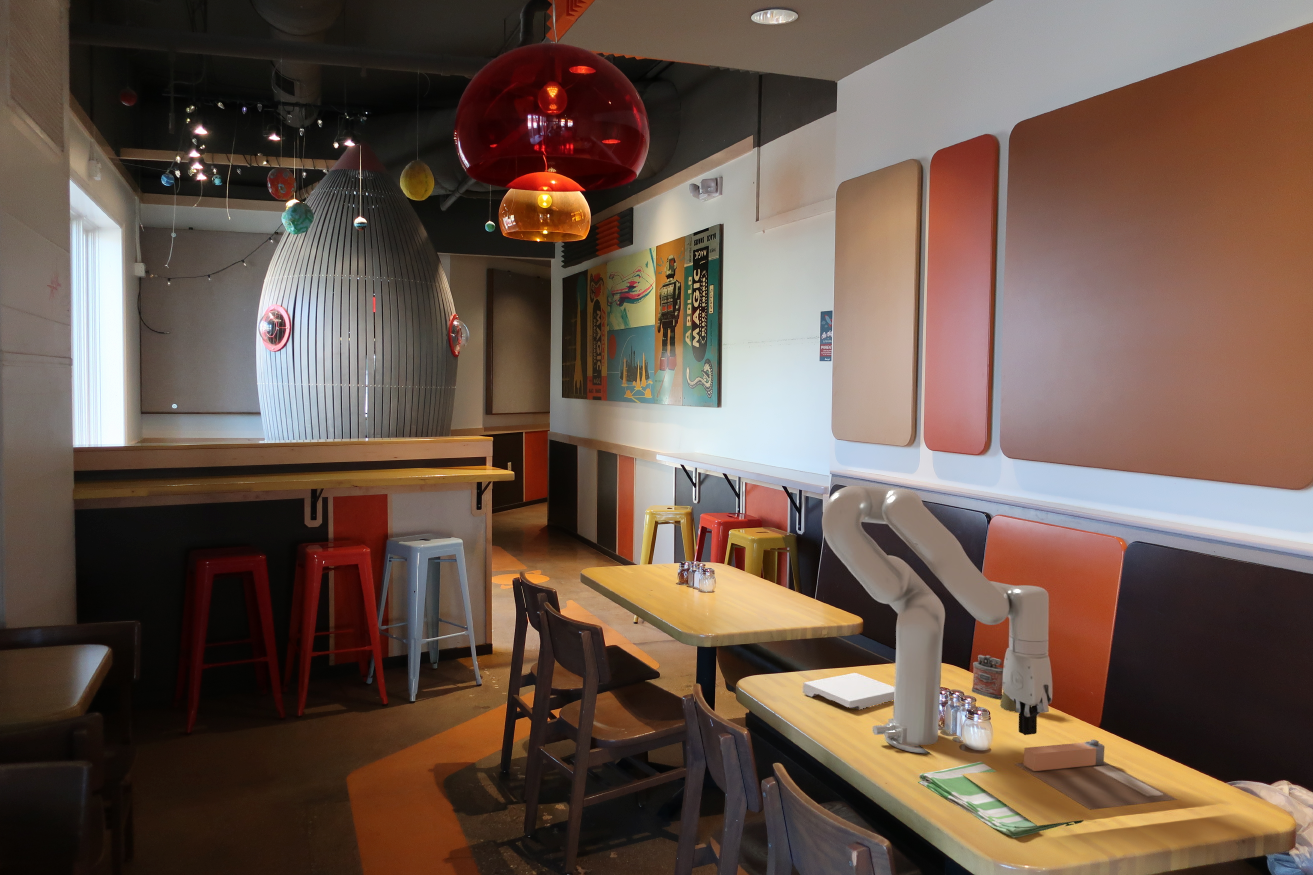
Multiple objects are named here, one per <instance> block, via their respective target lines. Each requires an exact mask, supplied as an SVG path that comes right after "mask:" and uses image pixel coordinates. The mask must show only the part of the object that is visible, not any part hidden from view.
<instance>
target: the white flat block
mask: <svg viewBox="0 0 1313 875" xmlns="http://www.w3.org/2000/svg"><path fill="white" fill-rule="evenodd" d="M894 691H895V686H893V685H890V684H888V683H885V682H882V681H879V680H876V679H874V678H871V677H868V676H865V675H863V674H860V673H857V672H851V673H847V674H843V675H836V676H831V677H825V678H821V679H816V680H815V679H814V680H809V681H805V682H803V685H802V693H803V694H804V695H806V696H808V697H811V698H812V697H816V696H817V695H819V696H822V697H824V698H825V699H827V700H829V701H831V700H833V701H832V702H834V701H835V702H834V703H838V704H840V705H841V706H844V707H846V708H848V707H849V708H848V709H852V708H856V709H855V710H859V711H861V710H860V709H862V710H864V709H866V707H869V708H871V707H870V706H873V705H876V706H878V705H877V704H880V705H882V704H881V703H883V702H888V701H891V702H893V701H892V700H894ZM888 703H889V702H888ZM883 704H884V703H883ZM873 707H874V706H873ZM863 708H864V709H863Z"/></svg>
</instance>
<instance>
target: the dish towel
mask: <svg viewBox="0 0 1313 875" xmlns="http://www.w3.org/2000/svg"><path fill="white" fill-rule="evenodd" d="M996 772H997V771H996V770H995V769H993V768H992V767H990V766H988V765H987V764H985V763H984V762H983V761H977V762H974V763H968V764H964V765H959V766H956V767H950V768H945V769H940V770H937V771H929V772H922V773H920V774H919V779H920V781H918V782H917V783H918V784H919V785H922V786H924V787H926V789H928V790H930V791H932V792H933V793H935V794H937V795H938V796H940V797H941V798H943V799H946V800H947V801H948V802H950V803H952V804H954V805H956V806H957V807H958V808H960V809H961V810H963V811H965V812H967V813H969V814H971V815H972V816H974V817H976V818H977V819H978V820H980V821H981V822H983V823H985V824H986V825H987V826H989V827H991V828H993V829H995V830H998V831H999V832H1001V833H1002V834H1005V835H1008V836H1010V837H1012V838H1013V839H1016V838H1021V837H1024V836H1027V835H1033V834H1036V833H1039V832H1044V831H1046V830H1050V829H1051V830H1052V829H1055V828H1057V827H1062V826H1064V827H1070V826H1073V825H1078V824H1081V823H1083V822H1084V821H1085V820H1084V819H1082V820H1081V819H1080V820H1074V821H1073V820H1072V821H1066V822H1065V821H1064V822H1057V823H1049V824H1040V825H1038V824H1036V823H1035V822H1033V821H1031V820H1030V819H1028V818H1027V817H1026V816H1025V815H1023V814H1021V813H1020V812H1018V811H1017V810H1016V809H1014V808H1013V807H1011V806H1009V804H1006V803H1005V802H1004V801H1003V800H1001V799H999V798H998V797H996V796H995V795H994V794H992V793H990V792H989V791H987V790H985V789H984V788H983V787H982V786H981V785H979V784H977V783H975V782H974V781H972V780H971V779H970V778H968V777H967V776H966V775H967V774H977V773H978V774H979V773H996ZM964 774H966V775H964Z"/></svg>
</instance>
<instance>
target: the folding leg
mask: <svg viewBox="0 0 1313 875" xmlns="http://www.w3.org/2000/svg"><path fill="white" fill-rule="evenodd" d="M1023 749H1024V750H1023V763H1024V765H1025V766H1026V767H1028V768H1030V769H1031V770H1033V771H1041V770H1051V769H1061V768H1071V767H1081V766H1091V765H1103V764H1104V761H1105V744H1102V743H1100V742H1099V740H1096V739H1091V740H1090V741H1088V740H1087V741H1085V742H1074V743H1064V744H1062V743H1061V744H1052V745H1042V746H1030V747H1024V748H1023Z"/></svg>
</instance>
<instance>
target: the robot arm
mask: <svg viewBox="0 0 1313 875" xmlns="http://www.w3.org/2000/svg"><path fill="white" fill-rule="evenodd" d="M821 517H822V518H821V527H822V534H823V535H824V536H823V537H824V538H825V541H826V543H827V545H828V546H829V548H830V549H831V550H832V551H833V553H834V554H835V556H837V558H838V559H839V560H840V561H841V563H842V564H843V565H844V566H845V567H846V568H847V569H848V571H849V572H850V573H851V575H853V577H854V578H856V580H857V581H858V582H859V583H860V585H862V586H863V588H864V589H865V591H866V592H867V593H868V595H870V596H871V598H872V599H874V600H875V601H877V602H878V603H881V604H885V605H889V606H890V607H891V608H892V609H893V610H894V611H895V612H896V614H897V618H896V619H897V620H896V626H895V631H896V632H895V636H896V637H895V638H896V641H895V642H896V644H895V648H896V649H895V676H894V687H895V691H894V701H893V711H892V712H893V714H892V715H893V717H892V718H888V723H887V722H886V723H885V724H884V725H882V724H878V725H873V726H872V733H873V735H874V736H878V735H883V736H884V740H885V741H886V742H887V744H889V745H891V746H893V747H895V748H896V749H899V750H903V751H906V752H909V753H916V754H931V752H930V751H929V750H927V749H926V748H924V747H923V746H926V745H927V746H928V745H932V744H933V745H934V744H936V743H937V742H938V739H939V723H940V722H939V719H940V704H941V702H940V700H941V683H942V682H941V679H942V656H943V638H944V627H945V626H944V625H945V621H946V620H945V619H946V611H945V606H944V604H943V603H942V601H941V599H940V598H939V597H938V595H936V593H934V591H933V590H932V589H931V588H930V586H928V585H927V584H926V583H925V581H924V580H923V579H922V578H921V577H920V576H919V575H918V574H917V572H916V571H914V569H913V568H912V567H911V566H910V565H909V564H908V563H907V562H905V561H904V560H903V559H901V558H900V557H898V556H894V555H887V553H886V552H884V550H883V549H882V548H881V547H880V546H879V545H878V543H877V542H876V541H875V540H874V539H873V538H872V537H871V535H869V534H868V533H867V532H866V531H865V529H864V528H863V526H862V522H863V523H871V524H872V523H873V524H882V525H883V524H884V525H888V526H889V528H890V529H891V530H892V531H893V532H894V533H895V534H896V535H897V536H898V537H899V538H900V539H901V540H902V541H903V542H904V543H905V544H906V545H907V546H908V547H909V548H910V549H911V550H912V551H913V552H914V553H915V554H916V556H918V558H919V559H921V560H922V562H924V565H926V566H927V567H928V568H929V570H930V572H932V574H933V575H934V576H935V577H936V578H937V579H938V580H939V581H940V582H941V583H942V585H943V586H944V587H945V588H946V590H947V591H949V593H950V594H951V595H952V596H953V597H954V598H955V599H956V600H957V601H958V603H959V604H960V605H961V606H962V607H963V608H964V609H965V610H966V611H967V612H968V613H969V614H970V615H971V616H972V617H973V618H974V619H975V620H977V621H979V622H980V623H981V624H984V625H988V626H991V625H992V626H994V625H995V626H996V625H998V624H1000V623H1002V622H1004V621H1005V620H1006V619H1007V618H1008V619H1009V620H1008V621H1009V623H1008V624H1009V626H1008V647H1007V648H1006V650H1005V651H1006V652H1005V655H1004V661H1003V668H1002V669H1003V683H1002V692H1003V691H1004V693H1005V694H1006V695H1008V696H1009V697H1010V698H1011V699H1012V700H1013V701H1014V702H1015V704H1016V709H1017V712H1016V713H1018V732H1019V734H1023V735H1024V736H1029V735H1035V734H1037V732H1038V729H1037V728H1038V727H1037V726H1038V720H1037V719H1038V716H1040V713H1048V712H1049V710H1050V709H1049V704H1051V703H1052V700H1053V676H1052V667H1051V660H1050V656H1049V618H1050V617H1049V613H1050V612H1049V611H1050V610H1049V606H1050V602H1049V601H1050V598H1049V597H1050V596H1049V592H1048V591H1047V590H1046V589H1045V588H1043V587H1041V586H1037V585H1025V584H1023V585H1015V584H1014V585H1013V584H1007V583H1002V582H998V581H993V580H992V581H990V580H989V579H988V578H987V577H986V576H985V575H984V574H983V573H982V572H981V571H980V570H979V569H978V568H977V566H975V564H974V563H973V562H972V560H971V559H970V558H969V557H968V555H967V553H966V552H965V550H964V548H963V546H962V544H961V543H960V542H959V540H958V538H956V536H955V535H954V534H953V533H952V532H951V531H950V530H949V529H947V527H946V526H944V524H943V523H942V522H940V521H939V519H937V517H935V515H934V514H933V513H931V511H930V510H929V509H928V508H927V507H926V506H925V505H924V503H923V501H922V499H921V497H920V495H919V494H918V493H917V492H915V491H913V490H911V489H909V488H908V489H906V488H892V487H879V486H870V485H853V484H852V485H848V486H845V487H843V488H840V489H838V490H836V491H834V493H833V494H831V496H830V497H829V498H828V501H827V502H826V504H825V506H824V508H823V513H822V516H821ZM922 745H923V746H922Z"/></svg>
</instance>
